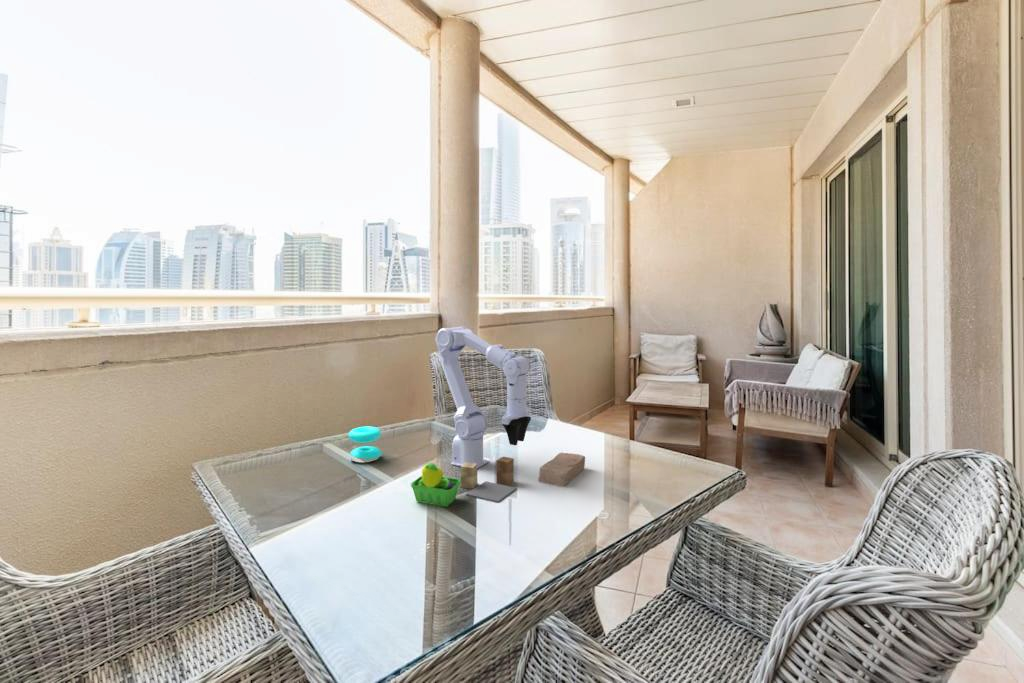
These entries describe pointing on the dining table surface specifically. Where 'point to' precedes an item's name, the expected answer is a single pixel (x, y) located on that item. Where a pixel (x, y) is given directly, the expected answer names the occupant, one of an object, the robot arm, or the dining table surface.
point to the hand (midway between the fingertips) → (516, 442)
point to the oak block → (468, 475)
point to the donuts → (365, 436)
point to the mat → (491, 491)
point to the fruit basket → (435, 486)
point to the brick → (561, 469)
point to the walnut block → (505, 471)
